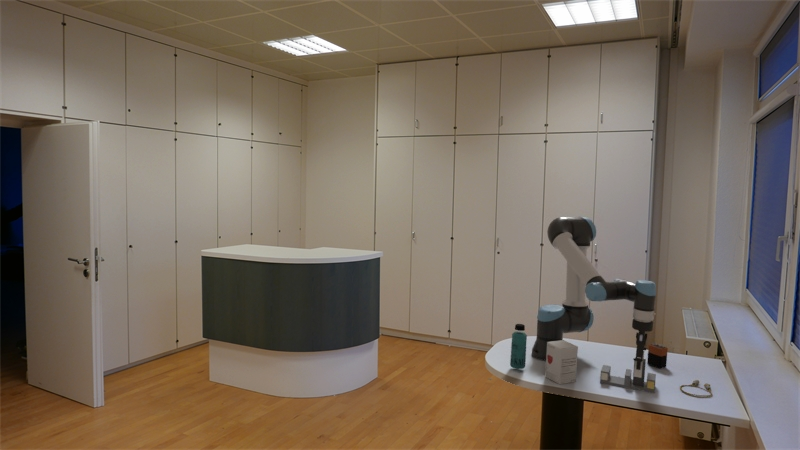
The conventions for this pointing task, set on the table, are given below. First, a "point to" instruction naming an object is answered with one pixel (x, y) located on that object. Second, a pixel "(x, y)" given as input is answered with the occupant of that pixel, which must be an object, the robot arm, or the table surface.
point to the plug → (640, 381)
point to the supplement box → (561, 361)
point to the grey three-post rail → (627, 380)
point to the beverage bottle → (518, 347)
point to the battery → (657, 355)
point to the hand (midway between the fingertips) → (638, 371)
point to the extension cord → (698, 387)
